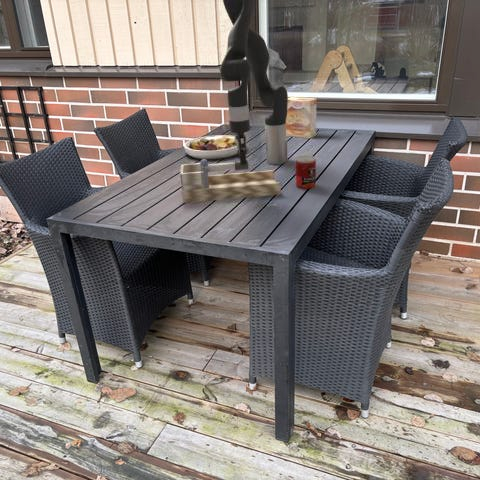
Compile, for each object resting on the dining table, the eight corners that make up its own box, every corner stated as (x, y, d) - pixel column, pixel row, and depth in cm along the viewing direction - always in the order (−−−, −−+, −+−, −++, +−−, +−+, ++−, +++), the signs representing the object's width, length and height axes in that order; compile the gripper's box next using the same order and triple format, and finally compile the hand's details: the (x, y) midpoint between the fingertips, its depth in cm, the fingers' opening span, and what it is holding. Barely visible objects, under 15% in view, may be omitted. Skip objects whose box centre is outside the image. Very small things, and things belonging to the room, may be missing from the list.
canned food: (303, 190, 181) (303, 162, 177) (291, 185, 188) (291, 157, 183) (319, 186, 184) (320, 158, 180) (307, 181, 191) (307, 154, 186)
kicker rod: (249, 181, 187) (248, 153, 182) (250, 185, 183) (249, 157, 178) (202, 185, 186) (200, 157, 181) (202, 189, 182) (200, 161, 177)
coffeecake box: (285, 136, 258) (284, 99, 250) (291, 133, 263) (291, 96, 255) (310, 138, 250) (310, 100, 242) (316, 135, 255) (316, 98, 247)
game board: (274, 180, 194) (273, 155, 189) (280, 194, 179) (279, 167, 175) (184, 188, 192) (181, 163, 187) (183, 202, 177) (180, 175, 173)
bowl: (189, 146, 253) (187, 131, 249) (245, 143, 251) (244, 128, 248) (181, 162, 226) (179, 146, 222) (244, 159, 224) (243, 143, 221)
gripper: (251, 121, 167) (254, 165, 174) (247, 113, 180) (249, 155, 187) (230, 123, 167) (233, 167, 174) (227, 115, 180) (230, 156, 187)
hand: (242, 161), depth 181 cm, fingers open, 8 cm apart
